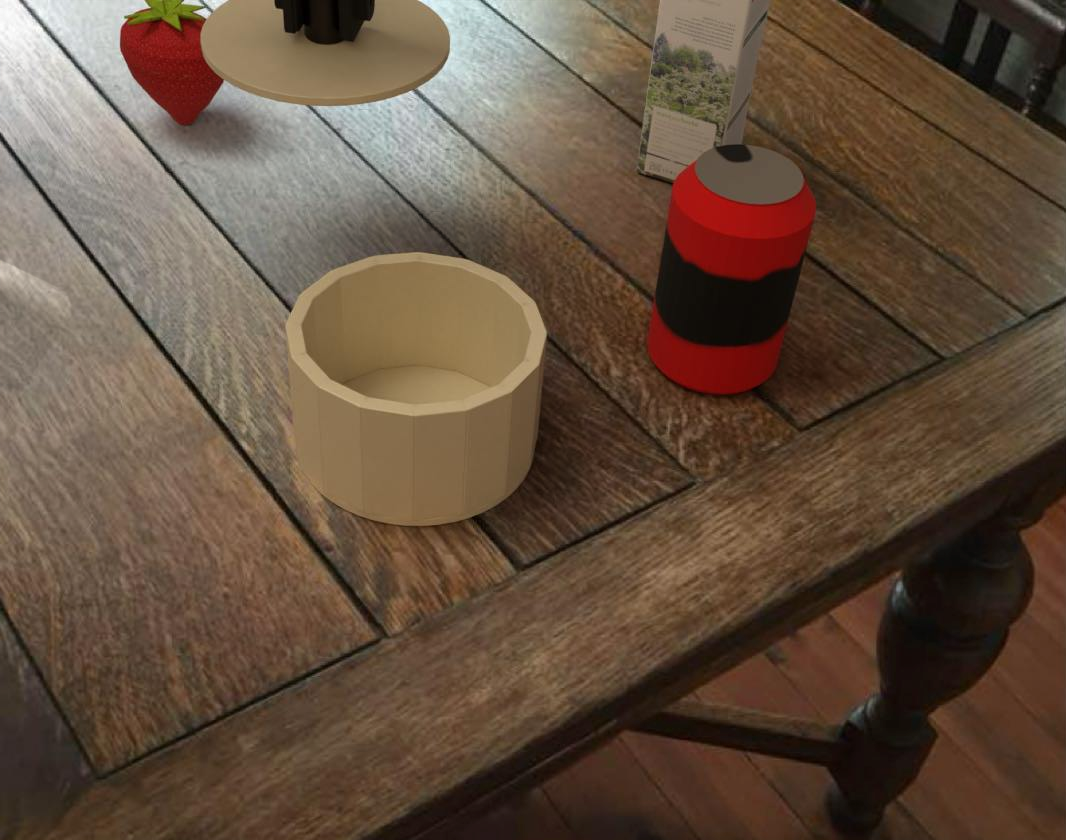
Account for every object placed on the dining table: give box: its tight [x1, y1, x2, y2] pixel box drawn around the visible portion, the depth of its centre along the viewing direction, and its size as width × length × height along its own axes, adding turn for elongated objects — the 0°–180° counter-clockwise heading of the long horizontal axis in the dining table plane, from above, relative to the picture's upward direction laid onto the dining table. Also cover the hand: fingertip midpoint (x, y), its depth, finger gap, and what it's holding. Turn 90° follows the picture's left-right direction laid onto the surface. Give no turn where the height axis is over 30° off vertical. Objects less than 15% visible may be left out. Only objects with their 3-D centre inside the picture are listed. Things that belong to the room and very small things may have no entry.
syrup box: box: [636, 0, 771, 184], centre depth 87 cm, size 6×6×14 cm
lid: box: [200, 0, 451, 107], centre depth 73 cm, size 14×14×6 cm
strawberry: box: [119, 0, 225, 126], centre depth 88 cm, size 6×8×10 cm
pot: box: [284, 251, 548, 527], centre depth 69 cm, size 13×13×8 cm
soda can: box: [646, 143, 817, 396], centre depth 74 cm, size 8×8×12 cm
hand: (325, 23), depth 74 cm, fingers closed on lid, 2 cm apart
